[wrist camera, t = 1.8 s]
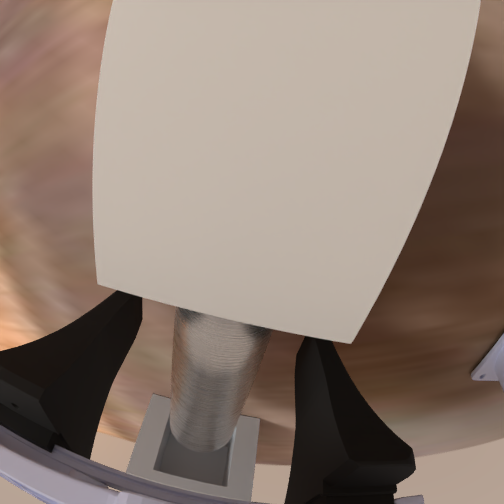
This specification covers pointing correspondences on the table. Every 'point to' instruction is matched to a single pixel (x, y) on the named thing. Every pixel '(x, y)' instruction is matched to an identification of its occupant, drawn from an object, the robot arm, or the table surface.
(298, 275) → the sleeve
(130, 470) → the socket
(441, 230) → the table surface
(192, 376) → the tube
